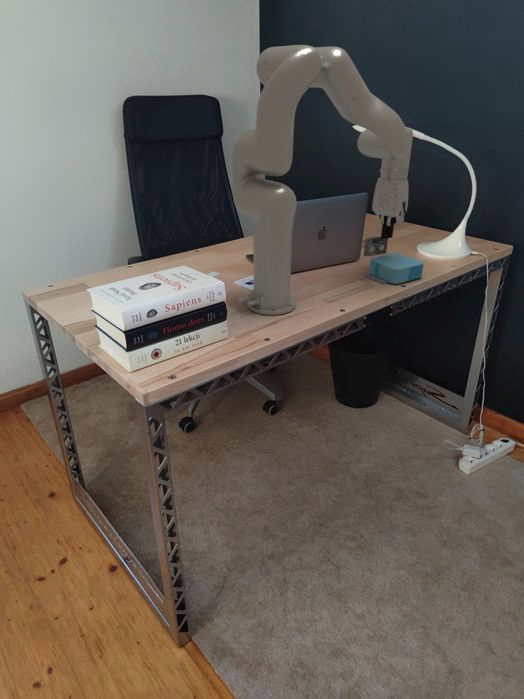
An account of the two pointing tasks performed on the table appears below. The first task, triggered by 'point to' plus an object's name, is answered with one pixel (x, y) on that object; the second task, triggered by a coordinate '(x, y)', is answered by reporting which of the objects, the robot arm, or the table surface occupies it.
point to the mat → (376, 279)
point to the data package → (396, 268)
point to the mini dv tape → (375, 246)
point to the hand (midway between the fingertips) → (386, 237)
